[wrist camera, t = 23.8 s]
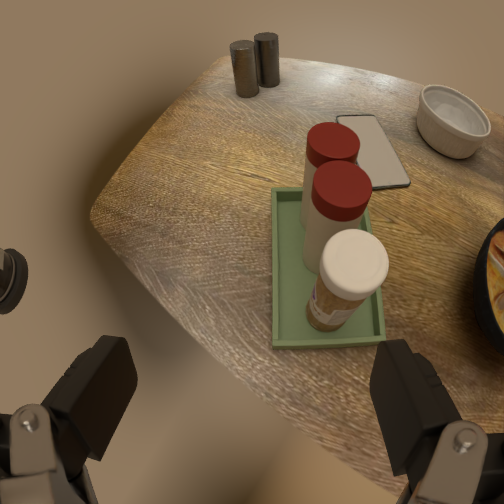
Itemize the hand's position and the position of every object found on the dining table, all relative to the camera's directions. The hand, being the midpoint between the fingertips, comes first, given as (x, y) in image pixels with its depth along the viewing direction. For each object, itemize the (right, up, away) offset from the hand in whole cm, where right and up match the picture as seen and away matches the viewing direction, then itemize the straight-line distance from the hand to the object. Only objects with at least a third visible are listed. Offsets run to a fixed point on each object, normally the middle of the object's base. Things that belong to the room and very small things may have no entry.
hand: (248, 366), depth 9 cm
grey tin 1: (-1, +32, +40) cm, 51 cm away
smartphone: (+18, +19, +32) cm, 41 cm away
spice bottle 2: (+8, +3, +25) cm, 26 cm away
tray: (+8, +2, +25) cm, 26 cm away
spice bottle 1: (+8, +7, +27) cm, 29 cm away
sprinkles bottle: (+8, -3, +22) cm, 23 cm away
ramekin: (+33, +23, +33) cm, 52 cm away
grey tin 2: (+3, +35, +41) cm, 54 cm away
